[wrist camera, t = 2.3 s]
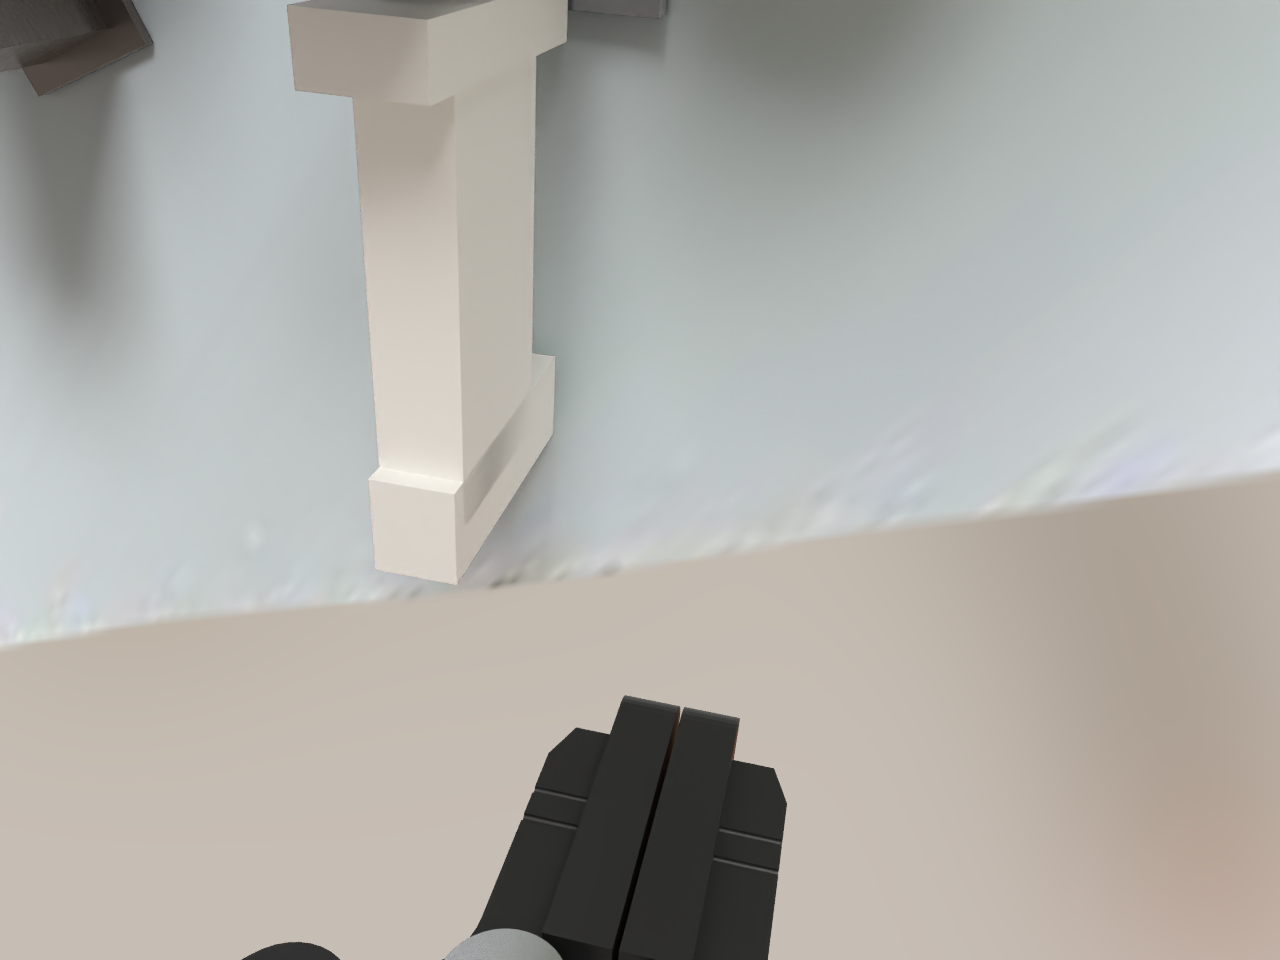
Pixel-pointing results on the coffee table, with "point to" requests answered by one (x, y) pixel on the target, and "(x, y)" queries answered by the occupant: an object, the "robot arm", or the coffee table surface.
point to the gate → (443, 255)
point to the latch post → (66, 38)
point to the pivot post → (622, 7)
